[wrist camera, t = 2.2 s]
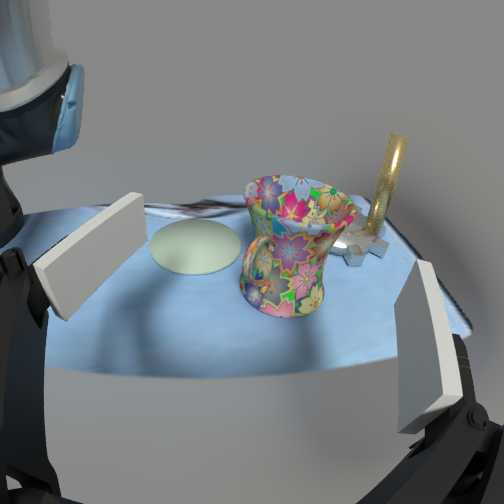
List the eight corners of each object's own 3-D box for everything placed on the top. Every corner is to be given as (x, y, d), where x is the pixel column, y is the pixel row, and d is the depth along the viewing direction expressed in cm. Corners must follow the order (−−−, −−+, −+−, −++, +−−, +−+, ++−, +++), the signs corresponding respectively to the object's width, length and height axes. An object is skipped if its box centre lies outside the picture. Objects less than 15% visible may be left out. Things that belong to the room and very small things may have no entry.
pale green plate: (131, 258, 31) (131, 255, 31) (178, 215, 40) (177, 212, 39) (220, 287, 29) (220, 284, 29) (252, 233, 38) (253, 230, 37)
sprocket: (271, 245, 35) (290, 116, 26) (293, 197, 47) (308, 106, 38) (389, 276, 32) (434, 156, 23) (380, 220, 44) (406, 131, 35)
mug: (266, 253, 34) (279, 167, 28) (338, 287, 31) (367, 199, 24) (197, 311, 26) (194, 206, 20) (284, 364, 22) (317, 262, 16)
